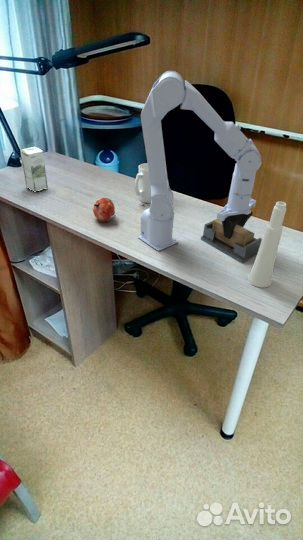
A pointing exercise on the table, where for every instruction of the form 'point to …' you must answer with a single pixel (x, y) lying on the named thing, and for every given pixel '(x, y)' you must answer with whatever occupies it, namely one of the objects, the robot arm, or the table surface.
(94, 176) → the table surface
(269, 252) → the cosmetic bottle
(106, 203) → the pomegranate
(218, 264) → the table surface
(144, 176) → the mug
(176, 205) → the table surface
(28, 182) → the syrup box
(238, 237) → the brown wooden block
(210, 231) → the brackets
